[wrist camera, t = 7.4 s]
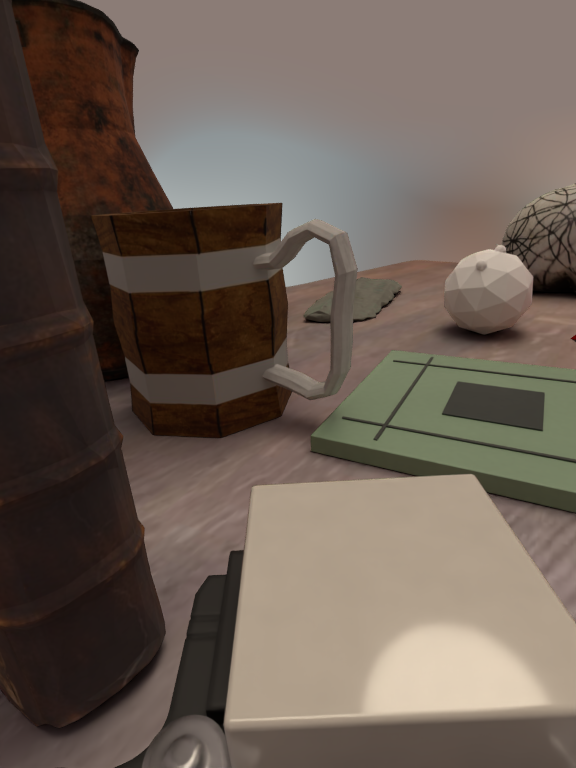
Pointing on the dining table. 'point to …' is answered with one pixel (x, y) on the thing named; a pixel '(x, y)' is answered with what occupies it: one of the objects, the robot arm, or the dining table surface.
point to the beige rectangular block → (395, 633)
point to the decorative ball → (488, 291)
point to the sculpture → (547, 240)
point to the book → (58, 453)
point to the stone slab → (358, 300)
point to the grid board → (463, 424)
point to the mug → (216, 314)
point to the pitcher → (88, 140)
